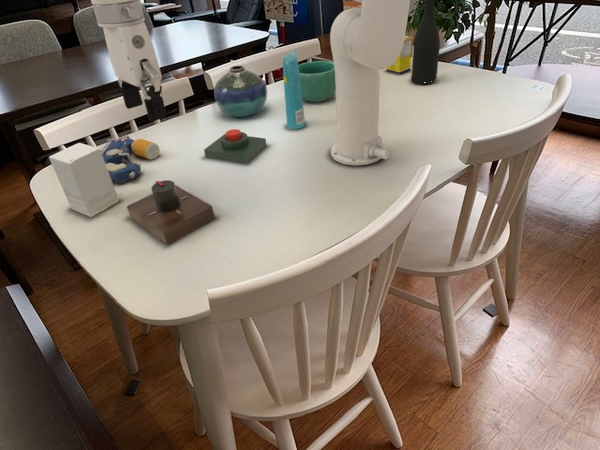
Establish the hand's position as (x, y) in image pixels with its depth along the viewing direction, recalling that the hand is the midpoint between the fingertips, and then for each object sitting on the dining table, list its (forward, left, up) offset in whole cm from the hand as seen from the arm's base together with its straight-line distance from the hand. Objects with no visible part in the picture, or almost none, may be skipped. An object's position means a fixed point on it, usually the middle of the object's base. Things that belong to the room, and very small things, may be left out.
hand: (146, 112), depth 85 cm
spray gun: (+25, -3, -20) cm, 32 cm away
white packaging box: (+13, +11, -20) cm, 26 cm away
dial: (-5, +3, -17) cm, 18 cm away
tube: (+7, -44, -20) cm, 49 cm away
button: (+8, -24, -16) cm, 30 cm away
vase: (+27, -42, -20) cm, 53 cm away
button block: (+8, -24, -20) cm, 32 cm away
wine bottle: (-2, -93, -20) cm, 95 cm away
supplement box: (+11, -98, -20) cm, 100 cm away
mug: (+17, -65, -20) cm, 70 cm away
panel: (-5, +3, -20) cm, 21 cm away
